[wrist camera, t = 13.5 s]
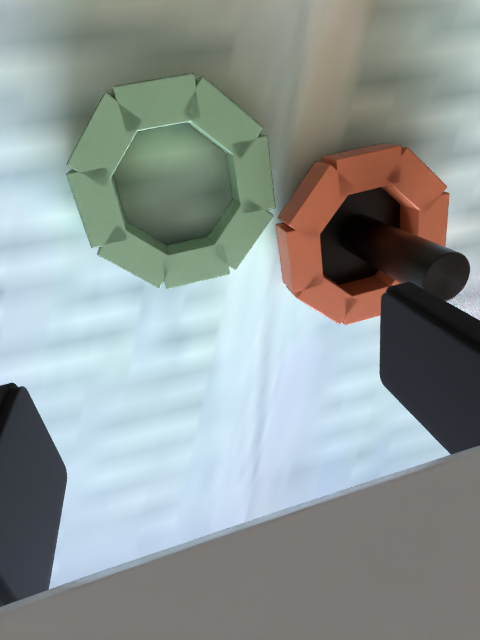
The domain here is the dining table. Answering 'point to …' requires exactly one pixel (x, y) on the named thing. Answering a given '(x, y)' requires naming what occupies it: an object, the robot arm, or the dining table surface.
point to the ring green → (157, 111)
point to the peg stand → (386, 248)
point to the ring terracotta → (324, 200)
